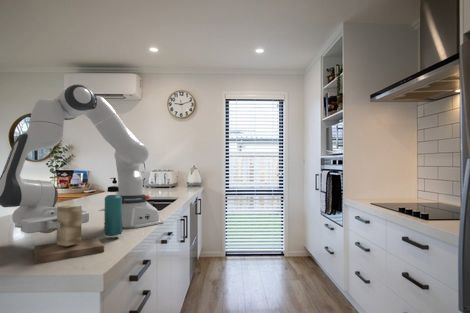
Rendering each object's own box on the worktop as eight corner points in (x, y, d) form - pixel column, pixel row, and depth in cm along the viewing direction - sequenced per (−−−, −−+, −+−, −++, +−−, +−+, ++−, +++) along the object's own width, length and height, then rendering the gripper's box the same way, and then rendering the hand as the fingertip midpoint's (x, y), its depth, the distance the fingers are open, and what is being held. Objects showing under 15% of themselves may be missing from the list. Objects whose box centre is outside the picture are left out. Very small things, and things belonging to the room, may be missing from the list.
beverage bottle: (125, 237, 109) (125, 186, 110) (107, 241, 105) (107, 187, 105) (118, 235, 114) (118, 185, 115) (101, 238, 109) (101, 186, 110)
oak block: (71, 240, 95) (72, 204, 95) (81, 242, 93) (81, 205, 93) (56, 244, 91) (57, 206, 91) (66, 246, 88) (66, 207, 89)
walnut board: (94, 242, 103) (95, 237, 103) (104, 251, 91) (104, 245, 92) (34, 252, 92) (34, 245, 92) (36, 263, 81) (36, 256, 81)
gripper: (12, 215, 89) (36, 219, 82) (74, 206, 107) (98, 209, 100) (11, 235, 89) (36, 240, 82) (74, 223, 107) (98, 227, 100)
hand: (71, 223), depth 91 cm, fingers closed on oak block, 5 cm apart
